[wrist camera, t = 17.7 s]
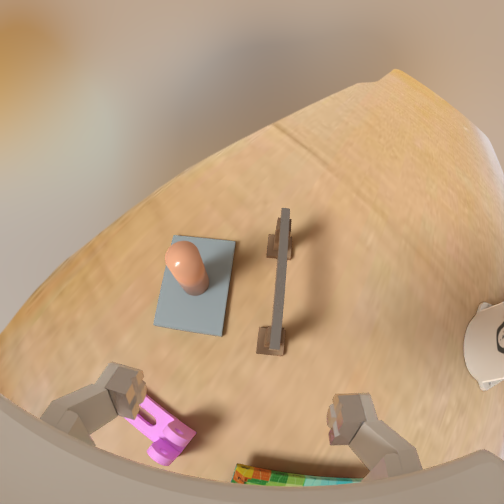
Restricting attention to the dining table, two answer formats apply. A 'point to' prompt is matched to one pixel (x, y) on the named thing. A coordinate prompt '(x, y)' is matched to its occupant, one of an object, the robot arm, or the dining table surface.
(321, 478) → the puzzle game
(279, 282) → the metal bar
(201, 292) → the terracotta cylinder
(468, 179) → the dining table surface
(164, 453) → the bracket
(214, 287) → the pad
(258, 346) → the hurdle posts
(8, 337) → the dining table surface
